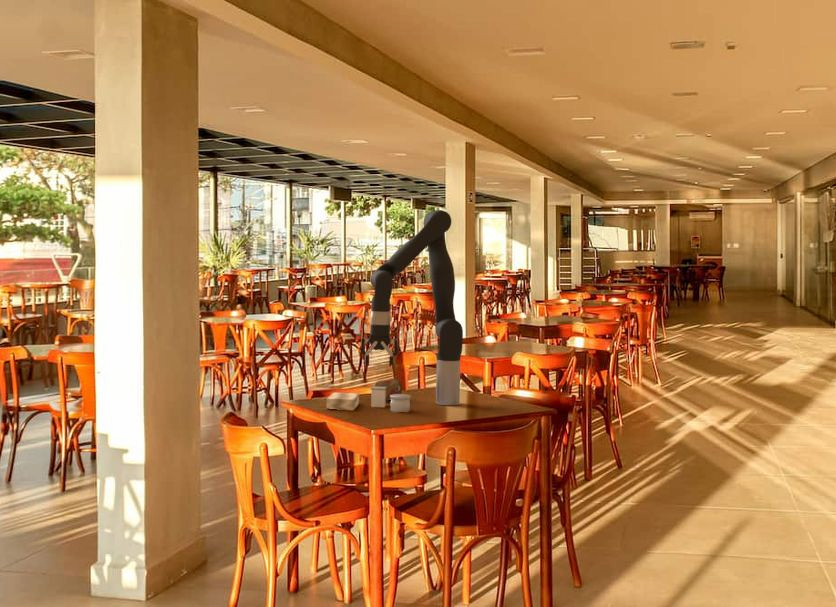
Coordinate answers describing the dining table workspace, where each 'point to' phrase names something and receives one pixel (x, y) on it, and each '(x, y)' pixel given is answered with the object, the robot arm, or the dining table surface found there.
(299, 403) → the dining table surface
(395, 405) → the sugar bowl
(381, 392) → the green and cream block
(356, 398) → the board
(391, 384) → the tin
